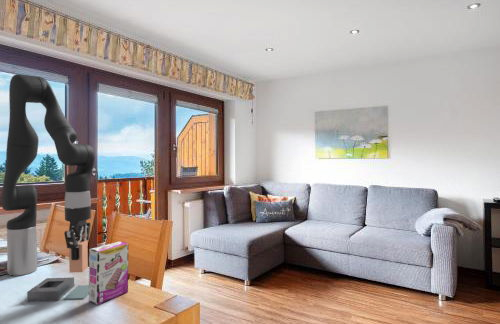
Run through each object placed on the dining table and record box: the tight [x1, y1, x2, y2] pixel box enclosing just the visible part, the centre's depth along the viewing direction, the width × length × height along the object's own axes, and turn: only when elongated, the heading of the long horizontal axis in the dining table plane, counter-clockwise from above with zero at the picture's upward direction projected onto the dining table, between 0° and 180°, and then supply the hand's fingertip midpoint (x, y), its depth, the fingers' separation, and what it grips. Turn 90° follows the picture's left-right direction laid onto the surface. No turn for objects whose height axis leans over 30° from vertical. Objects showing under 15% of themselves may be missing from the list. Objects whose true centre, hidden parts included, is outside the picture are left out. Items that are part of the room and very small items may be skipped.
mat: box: [63, 284, 89, 301], centre depth 106 cm, size 10×6×1 cm, turn 5°
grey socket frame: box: [26, 277, 75, 303], centre depth 105 cm, size 11×9×3 cm
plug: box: [68, 240, 89, 274], centre depth 105 cm, size 4×4×9 cm
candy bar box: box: [88, 241, 129, 306], centre depth 102 cm, size 11×5×16 cm, turn 149°
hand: (78, 257), depth 105 cm, fingers closed on plug, 4 cm apart
